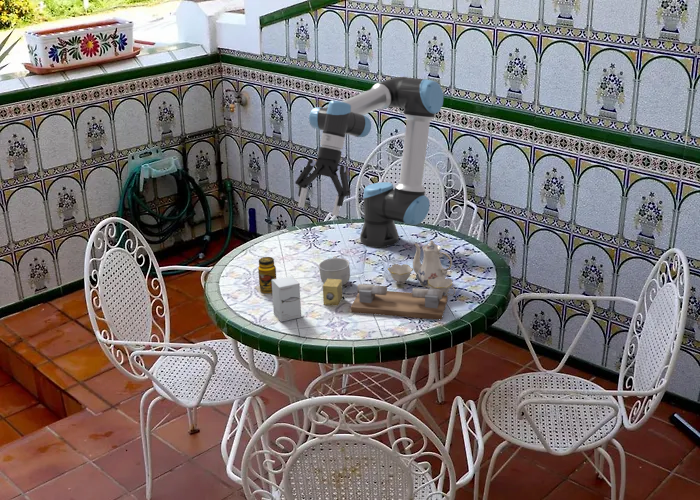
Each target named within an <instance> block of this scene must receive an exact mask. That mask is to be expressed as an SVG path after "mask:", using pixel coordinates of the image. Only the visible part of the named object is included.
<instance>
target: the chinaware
mask: <svg viewBox="0 0 700 500" xmlns="http://www.w3.org/2000/svg"><path fill="white" fill-rule="evenodd" d="M434 242H435V241H433V240H432V239H431V240H430V241H429V243H427V244H425V245H423V246H420V245H419V244H418V243H416V242H415V243H414V246H415V248H416V250H415V254H414V257H413V260H412V267H411V266H410V265H409V264H406V263H405V264H402V265H401V264H398V263H396V264H392V265H391V267H388V268H387V271H388V272H389V273H390V276H391V278H392V279H393V281H395V284H396V285H397V284H398V285H404V284H406V281H407V280H408V279H409V278H410V276H411V273H412V272H413V271H414V273H415V274H416V275H415V277H416V279H417V281H419V282H420V283H419V285H420V286H422V287H423V288H424V287H425V288H427V289H440V290H442V295H446V296H449V295H450V296H454V295H455V293H456V289H455V287H453V280H452V279H451V278H448V277H447V276H448V272H449V270H450V269H451V268H452V267H453V260H452V257H451V255H449V254H448V253H447V252H444V251H441V249H442V247H441V246H440V245H438V244H436V243H434ZM421 247H422V251H423V259H422V260H423V261H422V263H421ZM443 256H446V257H447V258H448V260H449V266H448V267H447V268H444V267H443V264H442V262H441V259H440V258H442V257H443ZM451 289H452V290H453V293H452V294H451V293H449V292H450V290H451Z"/></svg>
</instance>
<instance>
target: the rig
mask: <svg viewBox="0 0 700 500" xmlns="http://www.w3.org/2000/svg"><path fill="white" fill-rule="evenodd" d="M356 291H357V295H356V297H355V299H354V301H352V304H351V306H350V313H354V314H355V313H356V314H365V315H366V314H367V315H374V316H375V315H377V316H378V315H379V316H390V317H398V318H399V317H402V318H411V319H412V318H413V319H424V320H434V319H438V320H437V321H442V320H441V319H443V317H442V316H444V314H443V313H445V310H446V306H447V304H448V300H449V299H448V298H449V297H448V296H449V295H448V296H446V294H445V295H442V290H440V289H430V288H417V287H415V288H413V287H412V292H407V291H406V292H403V291H390V290H388V286H387V285H376V284H374V283H363V284H361V283H358V284H357V289H356ZM439 319H440V320H439Z"/></svg>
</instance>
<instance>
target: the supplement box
mask: <svg viewBox="0 0 700 500" xmlns="http://www.w3.org/2000/svg"><path fill="white" fill-rule="evenodd" d="M271 281H272V294H271V295H272V307H273V314H274V315H275V316H276V318H277V319H278V320H279V322H280V323H282V322H286V321H290V320H294V319H300V318H302V307H301V289H300V288H301V287H300V284H301V283H300V282H299V281H298V280H297V279H296V278H295V277H294V276H293V275H288V276H283V277H278V278H277V277H276V279H272V280H271Z"/></svg>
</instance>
